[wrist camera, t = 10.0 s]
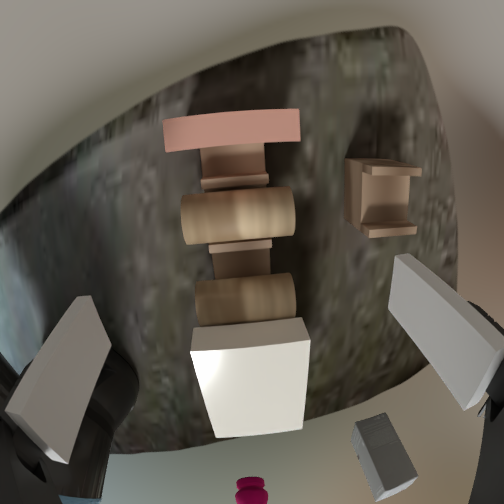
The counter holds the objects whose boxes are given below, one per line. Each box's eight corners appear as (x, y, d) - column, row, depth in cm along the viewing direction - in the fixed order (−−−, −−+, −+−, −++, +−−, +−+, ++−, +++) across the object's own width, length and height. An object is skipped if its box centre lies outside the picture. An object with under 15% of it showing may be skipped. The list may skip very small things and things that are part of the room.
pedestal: (343, 218, 28) (368, 238, 23) (344, 158, 26) (372, 165, 20) (386, 215, 28) (415, 234, 23) (388, 159, 26) (421, 167, 21)
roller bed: (223, 387, 36) (224, 429, 30) (186, 145, 24) (171, 150, 18) (282, 381, 37) (291, 422, 30) (276, 138, 25) (293, 140, 18)
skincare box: (354, 421, 43) (381, 492, 29) (389, 409, 43) (421, 475, 29) (349, 441, 47) (371, 505, 32) (381, 431, 47) (407, 491, 32)
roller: (191, 234, 24) (186, 252, 21) (185, 190, 23) (178, 201, 19) (285, 226, 25) (295, 242, 21) (284, 182, 23) (294, 191, 20)
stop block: (186, 145, 24) (165, 152, 16) (184, 124, 24) (162, 119, 15) (276, 138, 25) (300, 141, 16) (274, 116, 24) (298, 108, 16)
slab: (216, 416, 29) (216, 437, 26) (193, 327, 23) (190, 351, 21) (296, 407, 29) (302, 428, 26) (301, 317, 24) (310, 339, 21)
